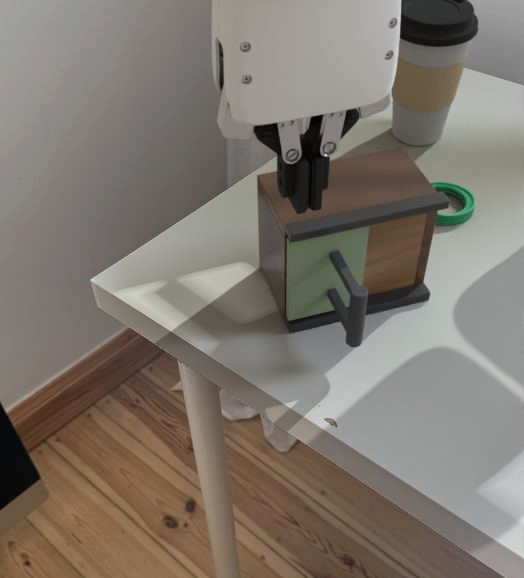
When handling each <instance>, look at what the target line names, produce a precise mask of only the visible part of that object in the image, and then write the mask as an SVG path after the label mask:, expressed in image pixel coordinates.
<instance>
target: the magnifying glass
mask: <svg viewBox="0 0 524 578" xmlns="http://www.w3.org/2000/svg"><path fill="white" fill-rule="evenodd" d="M429 182H430V183H431V184H432V186H433V187H434V188H435V190H436V191H437V192H440V191H442V192H443V193H444V194H448V195H452V196H454V197H456V198H457V199H459V200H460V201H461V202H462V204H463V206H464V208H463V209H462V210H460V211H457V212H455V213H454V212H453V213H440V212H438V213H437V218H436V223H435V225H442V226H451V225H458V224H461V223H464V222H466V221H468V220H469V219H470V218H472V216H473V214H474V212H475V208H476V203H477V202H476V198H475V196H474V194H473V193H472V192H471V191H470V190H469V189H468V188H466V187H464V186H462V185H459V184H458V183H457V184H456V183H453V182H450V181H449V182H448V181H429Z"/></svg>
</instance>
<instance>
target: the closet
mask: <svg viewBox="0 0 524 578" xmlns="http://www.w3.org/2000/svg"><path fill="white" fill-rule="evenodd" d="M430 182H431V181H430V180H429V179H428V178H427V177H426V175H425V174H424V172H423V171H422V170H421V169H420V168H419V166H418V165H417V163H416V162H415V161H414V160H413V158H412V157H411V156H410V155H409V153H408V152H407V151H406V149H405V148H404V147H403V146H401V145H400V146H395V147H391V148H387V149H381V150H376V151H370V152H366V153H361V154H356V155H351V156H345V157H340V158H335V159H331V160H330V162H329V178H328V188H327V189H326V190H322V208H321V210H316V211H313V210H312V209H311V210H310V209H309V207H308V210H306V212H305V213H302V214H297V213H296V211H295V210H294V208H293V206H292V204H291V202H290V200H289V198H288V197H287V198H282V196H281V194H280V192H279V189H278V185H277V170H275V171H269V172H265V173H260V174H257V175H256V189H257V191H256V193H257V223H258V224H257V226H258V258H259V259H258V261H259V268H260V271H261V273H262V276H263V278H264V281H265V282H266V285H267V286H268V288H269V291H270V293H271V295H272V298H273V300H274V302H275V304H276V306H277V308H278V311H279V313H280V315H281V317H282V319H283V322H284V324H285V326H286V329H287V331H288V333H289V334H293V333H298V332H300V331H305V330H310V329H313V328H317V327H322V326H327V325H330V324H334V323H338V322H339V323H340V322H341V321H340V319H339V317H338V315H337V314H336V312H335V310H333V311H329V312H324V313H320V314H316V315H312V316H308V317H303V318H299V319H295V320H291V321H288V319H287V317H286V284H287V238H289V239H290V241H291V242H295V241H300V240H305V239H309V238H314V237H319V236H323V235H328V234H332V233H337V232H342V231H346V230H351V229H355V228H360V227H365V226H369V233H368V242H367V250H366V259H365V267H364V276H363V284H362V286H365V287H366V288H367V289H368V299H367V306H366V314H365V316H367V315H372V314H375V313H380V312H384V311H388V310H393V309H397V308H400V307H405V306H409V305H412V304H417V303H423V302H425V301H426V302H427V301H429V300H430V297H431V291H430V290H429V288H428V287H427V285H426V284H425V282H424V281H425V276H426V272H427V267H428V263H429V262H428V261H429V257H430V253H431V247H432V242H433V236H434V232H435V227H436V224H435V223H436V218H437V213H439V211H442V210H447V209H449V208H450V203H451V200H450V199H449V198H448V196H447V195H446V193H444V192H442V191H440V192H437V191H436V190H435V188H434V187H433V186H432V184H431V183H430ZM346 308H347V310H348V311H349V307H346Z"/></svg>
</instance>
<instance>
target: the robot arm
mask: <svg viewBox="0 0 524 578" xmlns="http://www.w3.org/2000/svg"><path fill="white" fill-rule="evenodd" d="M400 22H401V0H211V67H212V76H213V82H214V85H215V88H216V91H217V93H218V94H221V95H220V101H219V107H218V112H217V116H216V126H217V128H218V130H219V132H220V134H221V137H223V139H225V140H235V141H236V140H239V141H242V140H243V141H252V140H258V141H259V142H260V143H261V144H263V145H264V146H265V147H267V148H268V149H269V150H271V151H273V152H274V153H275V154H276V171H277V185H278V189H279V192H280V194H281V196H282V198H287V197H288V198H289V200H290V202H291V204H292V206H293V208H294V210H295V211H296V213H297V214H302V213H305V212H306V210H308V207H309V209H310V210H311V209H312V210H313V211H316V210H321V208H322V190H326V189H327V188H328V178H329V162H330V159H331V157H332V156H334V155H336V153H337V152H338V149H339V146H340V141H341V140H342V139H343V138H344V136H345V135H347V134H348V133H349V131H350V130H351V129H352V128H353V127H354V126H355V125H356V124H357V123H358V122H359V120H364V119H367V118H369V117H371V116H373V115H376V114H379V113H382V112H383V111H385V110H387V109H388V107H389V106H390V104H391V96H390V93H391V92H392V86H393V83H394V79H395V74H396V68H397V61H398V51H399V39H400ZM301 119H306V123H305V132H304V133H300V130H299V123H298V120H301Z"/></svg>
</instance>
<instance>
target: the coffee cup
mask: <svg viewBox="0 0 524 578" xmlns="http://www.w3.org/2000/svg"><path fill="white" fill-rule="evenodd" d="M478 32H479V19H478V17H477V15H476V13H475V7H474V5H473V3H471V1H469V0H401V22H400V39H399V51H398V61H397V68H396V74H395V79H394V83H393V86H392V89H391V98H392V115H391V116H392V121H391V123H392V127H391V128H392V129H391V131H392V134H393V136H394V137H395V138H396V139H397V140H398V141H399V142H401V143H404V144H407V145H410V146H414V147H424V146H429V145H432V144H434V143H436V142H438V141H439V140H440V139H441V137H442V136H443V132H444V129H445V125H446V122H447V119H448V116H449V114H450V109H451V106H452V104H453V102H454V101H455V98H456V95H457V92H458V88H459V86H460V82H461V78H462V75H463V72H464V69H465V66H466V63H467V59H468V57H469V49H470V45H471V41H472V40H473V39H474V38H475V37H476V36H477V34H478Z"/></svg>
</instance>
